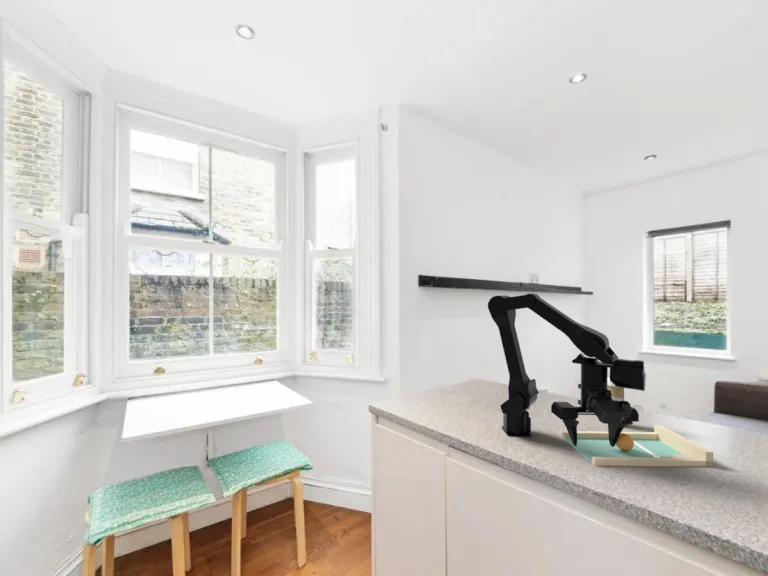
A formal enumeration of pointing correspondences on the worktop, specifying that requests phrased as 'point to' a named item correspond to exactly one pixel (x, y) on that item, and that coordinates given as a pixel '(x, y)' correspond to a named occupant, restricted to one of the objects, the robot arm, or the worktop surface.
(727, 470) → the worktop surface
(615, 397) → the sprinkles bottle
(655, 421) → the worktop surface
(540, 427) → the worktop surface
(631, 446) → the ball
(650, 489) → the worktop surface
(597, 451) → the lane
